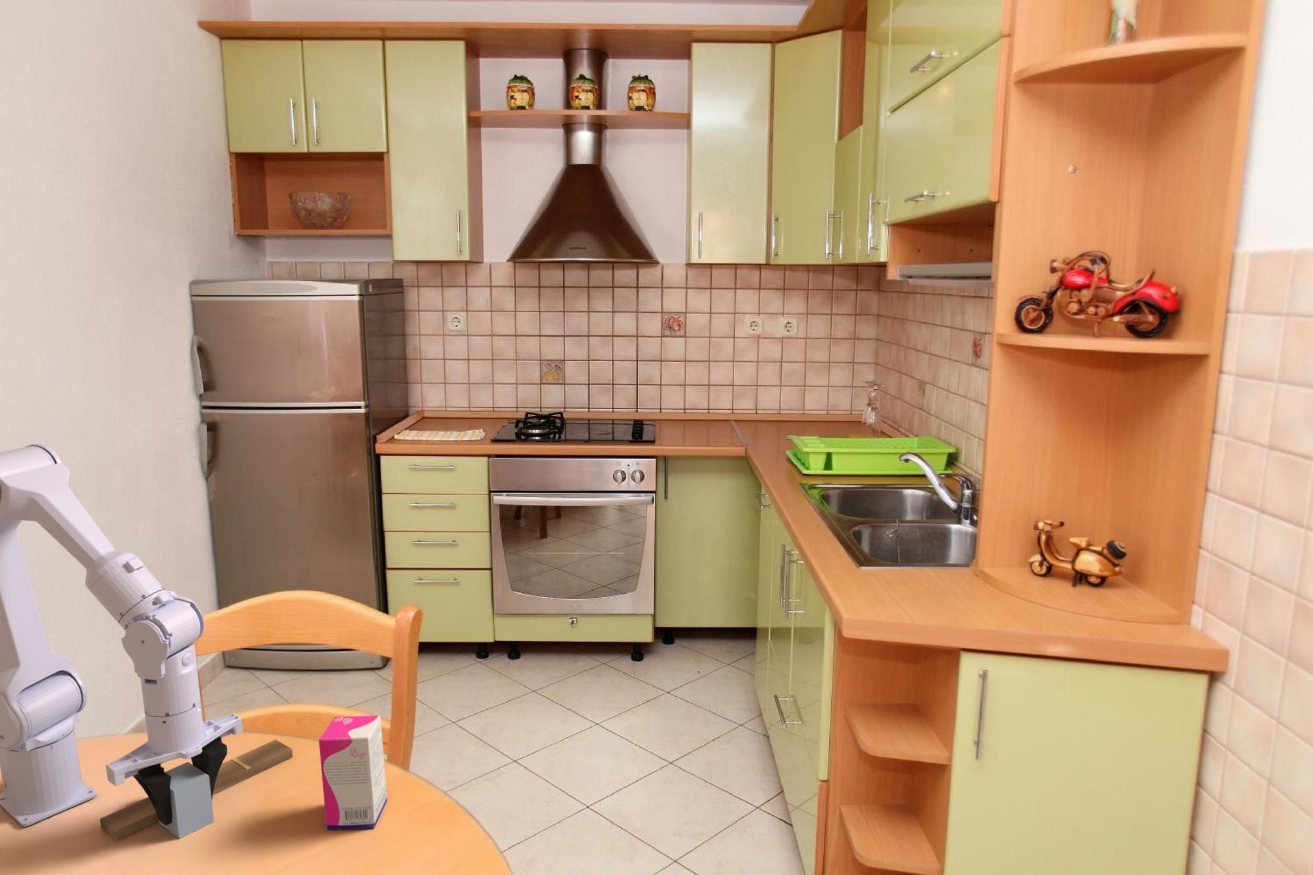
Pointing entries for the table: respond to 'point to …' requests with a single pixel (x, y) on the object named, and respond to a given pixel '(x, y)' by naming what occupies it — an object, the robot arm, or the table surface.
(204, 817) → the grey tall block
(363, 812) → the supplement box
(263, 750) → the board
